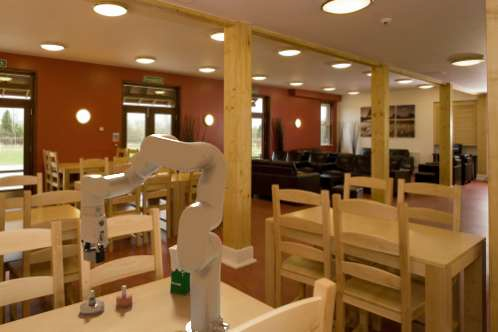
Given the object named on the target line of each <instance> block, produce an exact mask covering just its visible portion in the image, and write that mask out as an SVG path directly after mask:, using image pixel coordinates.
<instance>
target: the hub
mask: <svg viewBox="0 0 498 332" xmlns="http://www.w3.org/2000/svg"><path fill="white" fill-rule="evenodd" d="M88 291H89V295H88V296H89V299H88V300H87V301H85V302H82V303H81V304H80V306H79V313H80V315H82V316H87V317H88V316H95V315H98V314H100V313H102V312H104V310H105V301H104V300H102V299H97V298H96V297H95V290H94V289H91V290H88Z"/></svg>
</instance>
